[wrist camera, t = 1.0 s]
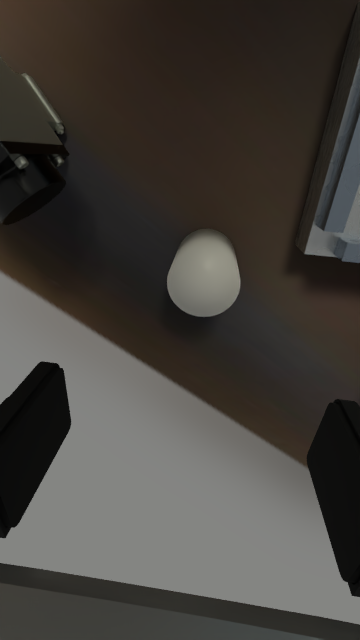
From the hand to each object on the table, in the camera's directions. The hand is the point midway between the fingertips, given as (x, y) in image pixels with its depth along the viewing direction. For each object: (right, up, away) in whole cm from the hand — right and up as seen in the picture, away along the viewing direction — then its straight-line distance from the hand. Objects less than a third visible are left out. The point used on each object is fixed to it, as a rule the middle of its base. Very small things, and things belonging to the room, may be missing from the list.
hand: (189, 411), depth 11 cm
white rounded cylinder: (+2, +9, +15) cm, 17 cm away
